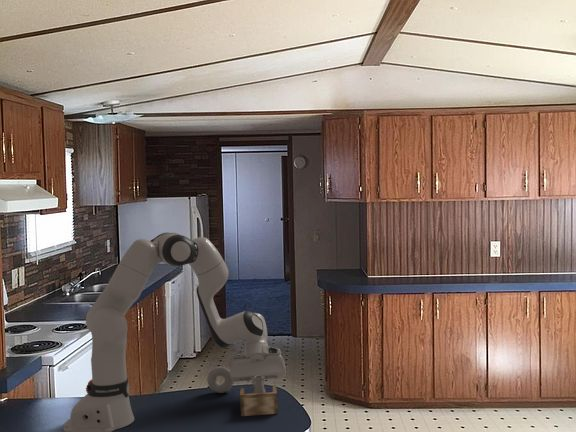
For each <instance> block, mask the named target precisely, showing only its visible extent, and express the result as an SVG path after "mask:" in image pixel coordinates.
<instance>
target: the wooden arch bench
mask: <svg viewBox="0 0 576 432" xmlns="http://www.w3.org/2000/svg"><path fill="white" fill-rule="evenodd" d="M239 393H240V394H239V403H240V404H239V405H240V417H247V416H249V417H250V416H263V415H277V414H279V405H278V404H279V403H278V391H277V385H275V384H274V385H272V392H266V393H253V392H252V393H245V387H243V386H242V387H240V391H239Z"/></svg>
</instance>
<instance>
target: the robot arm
mask: <svg viewBox="0 0 576 432" xmlns="http://www.w3.org/2000/svg"><path fill="white" fill-rule="evenodd" d="M160 263H163V264H165V265H169V266H172V267H182V266H186V265H189V266H190V268H191V269H192V270H193V272H194V274H195V276H196V278H197V281H198V285H197V287H196V296H197V299H198V302H199V304H200V307H201V310H202V313H203V314H204V318H205V320H206V323H207V326H208V329H209V333H210V337H211V338H210V339H211V340H212V342H213V343H214V344H215V345H216V346H218V347H220V348H222V349H226V348H229V347H231V346H233V345H235V344H236V343H239V342H242V341H244V342H245V344H244V355H239V356H237V355H236V356H233V357H231V358H229V360H228V367H229V370H230V380H231V381H232V382H233V383H234V382H246V381H247V382H248V381H250V382H251V385H252V386H253V387H254V388H255V378H254V376H256V375H262V376H263V385H265V384H266V380H272V379H273V380H275V379H276V380H277V379H284V378H285V377H286V375H287V370H286V369H287V368H286V362H285V360H284V357H283V356H282V353H281V352H282V351H281V349H280V348H279V347H273V346H269V344H268V327H267V323H266V320H265V317H264V316H263V315H262V314H261V313H257V312H252V311H249V310H243V311H242V312H239V313H236V314H234V315H231V316H229V317H226V318H222V317H220V315H219V312H218V309H217V306H216V304H215V301H214V297H215V295H216V294H218V292H219V291H220V290H221V289H222V288H223V287H224V286H225V284H226V283H227V281H228V279H229V268H228V266H227V264H226V261H225V260H224V259H223V257H222V255H221V253H220V252H219V250H218V249H217V248H216V246H215V245H214V244H213V243H212V242H211V240H209V238H207V237H205V236H201V237H200V236H198V237H196V238H193V239H190V238H189V237H187V236H185V235H182V234H180V233H178V232H177V233H176V232H163V233H160V234H159V235H157V236H155V237H154V238H153V239H151V240H149V239H146V238H145V239H144V238H139V239H136V240H135V241H133V243H132V244H131V245H130V246H129V247H128V249H127V250H126V252H125V253H124V255H123V256H122V257H121V259H120V261H119V263H118V265H117V267H116V268H115V270H114V272H113V274H112V276H111V277H110V280H109V281H108V283H107V284H106V286H105V287H104V289H103V290H102V292H101V293H100V294H99V296H98V297H97V299H96V300H95V302H94V303H93V304H92V306H91V308H90V309H89V310H87V313H86V317H85V325H86V327H87V329H88V331H89V332H90V334H91V338H92V339H91V340H92V342H91V356H90V357H91V358H90V365H91V379H89V381H88V383H87V384H86V388H85V392H86V395H84V396H83V397H82V398H81V399H79V400H78V401H77V402H76V404H74V405H73V407H72V409H71V412H70V416H69V417H70V418H69V419H67V421H65V423H64V425H63V428H62V430H63V432H113V431H115V430H118V429H122V428H124V427H127V426H129V425H131V424H132V423H133V422H134V421H135V420H136V419H135V415H134V414H133V410H132V406H131V402H130V397H129V395H130V382H129V378H128V376H127V360H126V359H127V358H126V353H127V341H128V330H129V329H128V328H129V327H128V321H127V318H126V317H125V316H126V314H127V313H128V311H129V310H130V308H131V307H132V306H133V304H134V303H135V302H137V300H138V299H139V298H140V296H141V294H142V292H143V290H144V288H145V287H146V284H147V282H148V281H149V278H150V277H151V274H153V270H154V269H155V268H156V266H158V265H160Z"/></svg>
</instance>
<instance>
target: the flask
mask: <svg viewBox="0 0 576 432" xmlns="http://www.w3.org/2000/svg"><path fill="white" fill-rule="evenodd" d="M254 378H255V387H254V388H253V392H252V394H253V393H267V391H266V388H265V386H264V385H265V384H264V385H263V376H262V375H256V376H254Z"/></svg>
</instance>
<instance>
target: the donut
mask: <svg viewBox="0 0 576 432" xmlns="http://www.w3.org/2000/svg"><path fill="white" fill-rule="evenodd" d="M220 376H221V377H223V379H224V382H223V383H219V382H218V380H217V377H220ZM206 381H207V385H208V387H209V388H210V390H211V391H213V392H214V393H219V394H224V393H227V392H228V391H230V390H231V388H233V386H234V382H232V381H231V380H230V368H227V367H225V366H220V365H219V366H215V367H213V368H211V370H210V371H209V372H208V375H207V378H206Z"/></svg>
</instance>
